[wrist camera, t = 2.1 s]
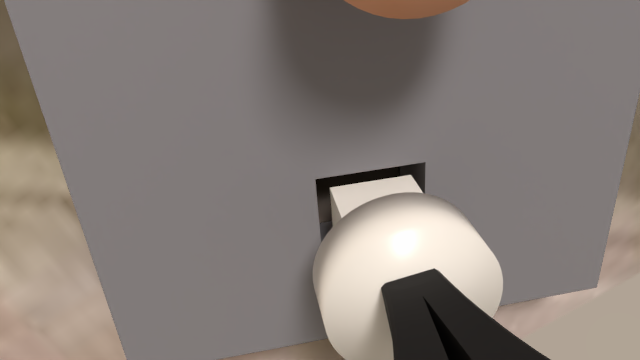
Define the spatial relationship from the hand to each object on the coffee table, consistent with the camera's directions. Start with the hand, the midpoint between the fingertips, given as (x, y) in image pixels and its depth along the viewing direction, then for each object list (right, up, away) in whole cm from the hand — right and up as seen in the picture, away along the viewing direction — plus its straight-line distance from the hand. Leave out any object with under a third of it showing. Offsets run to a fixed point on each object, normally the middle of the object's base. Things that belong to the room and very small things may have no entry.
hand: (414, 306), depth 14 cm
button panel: (-2, +7, +3) cm, 8 cm away
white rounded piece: (-1, +2, +3) cm, 4 cm away
